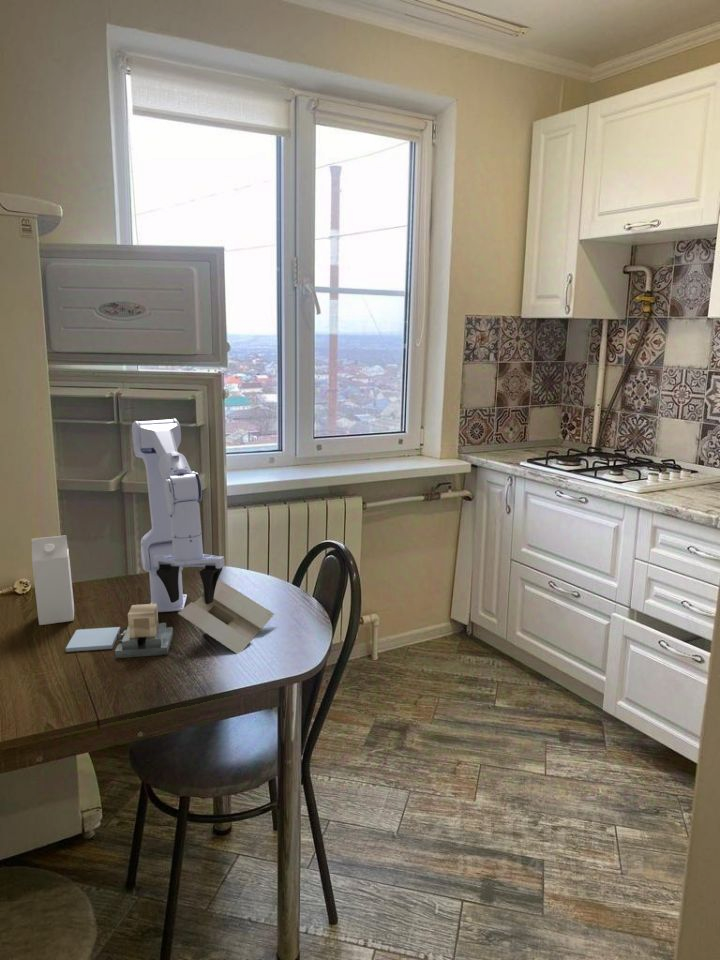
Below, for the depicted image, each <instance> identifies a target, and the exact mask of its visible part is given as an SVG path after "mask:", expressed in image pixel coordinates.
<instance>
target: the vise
mask: <svg viewBox="0 0 720 960" xmlns="http://www.w3.org/2000/svg"><path fill="white" fill-rule="evenodd" d="M158 625H159V626H158V629H157V632H156V636H150V637H135V638H130V635H129V624H128V625H127V629H124V630H123V632H122V633H119V634H117V639H116V641H118V643H117V645H116V648H115V650H114V654H115V659H121V658H122V659H123V658H135V657H149V656H150V657H151V656H164V655H168V653H169V650H170V646H171V643H172V639H173V636H174V628H173V626H169V627H167V622H160V623H159V622H158Z"/></svg>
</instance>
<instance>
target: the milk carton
mask: <svg viewBox="0 0 720 960" xmlns="http://www.w3.org/2000/svg"><path fill="white" fill-rule="evenodd" d="M67 538H68V537H67V535H58V536H47V537H36V538H31V540H30V541H31V562H32V563H31V564H32V573H33V583H34V591H35V600H36V608H37V619H38V625H39V626H44V625H51V624H57V623H66V622H72V621H74V619H75V603H74V593H73V582H72V570H71V561H70V553H69V546H68V539H67Z"/></svg>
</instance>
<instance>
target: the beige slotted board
mask: <svg viewBox="0 0 720 960" xmlns="http://www.w3.org/2000/svg"><path fill="white" fill-rule="evenodd" d="M177 614H178V615H179V616H181V617H183V618H184V619H185V620H187V621H188V622H190V623H191V624H193V625H194V626H196V627H197V628H199V629H200V630H201V631H202V632H204V633H206V634H207V635H208V636H210V637H211V638H212V639H214V640H216V641H217V642H219V643H220V644H221V645H223V646H225V647H226V648H228V649H229V650H230V651H233V653H235V654H236V655H237V654H238V655H239V653H242V652H243V651H244V650H245V649H246V648H247V646H248V645H249V644H250V643H251V641H252V640H253V639H254V638H255V637H256V635H258V633H259V632H260V631H261V630H263V628H264V627H265V626H266V625H267V623H268V622H269V621H270V620H271V619H272V618H273V617H274V615H275V613H274V612H272V611H271V610H269V609H268V608H266V607H264V606H263V605H261V604H260V603H258V602H256V601H255V600H254V599H251V598H250V597H248V596H247V595H245V594H243V593H242V592H241V591H239V590H237V589H235V587H234V588H233V587H232V586H230V584H227V583H225V582H224V581H222V580H220V579H219V578H218V580H217V584H216V587H215V592H214V599H213V602H211V603H210V604H205V599H204V591H202V594H201V596H199V598H198V599H197V600H196V601H194V602H192V601H190V602H189V603H188V604H187V605H185V606H184V608H183V609H182V610H181V611H177Z"/></svg>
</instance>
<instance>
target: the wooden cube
mask: <svg viewBox="0 0 720 960" xmlns="http://www.w3.org/2000/svg"><path fill="white" fill-rule="evenodd" d="M158 614H159V612H158V611H157V604H151V603H147V604H146V603H145V604H144V603H143V604H132V605H131V607H130V609H129V611H128V613H127V620H128V621H127V622H128V625H129V635H130V638H135V637H150V636H156V632H157V629H158V626H159V625H158V623H159V615H158Z"/></svg>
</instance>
